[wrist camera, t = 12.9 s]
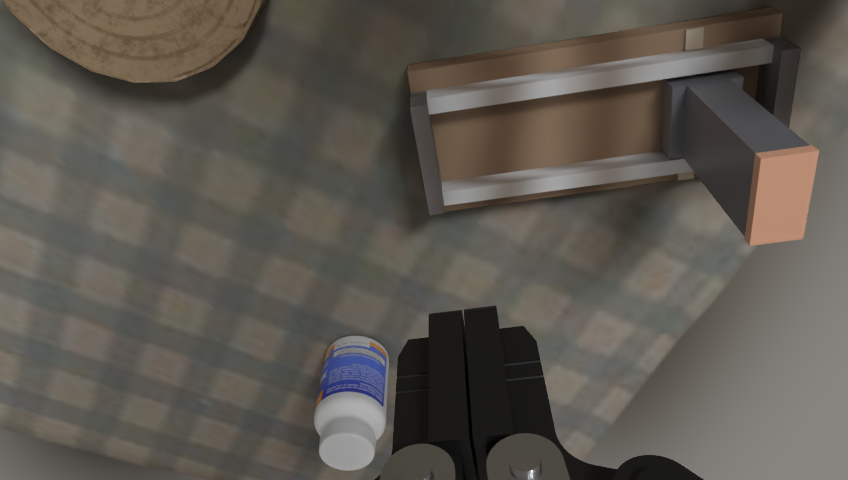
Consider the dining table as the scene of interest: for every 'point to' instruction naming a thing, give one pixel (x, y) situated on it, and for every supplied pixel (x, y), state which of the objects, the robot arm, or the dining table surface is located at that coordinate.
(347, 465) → the pill bottle
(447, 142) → the board
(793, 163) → the fader tab
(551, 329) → the dining table surface
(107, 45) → the brown round disc
